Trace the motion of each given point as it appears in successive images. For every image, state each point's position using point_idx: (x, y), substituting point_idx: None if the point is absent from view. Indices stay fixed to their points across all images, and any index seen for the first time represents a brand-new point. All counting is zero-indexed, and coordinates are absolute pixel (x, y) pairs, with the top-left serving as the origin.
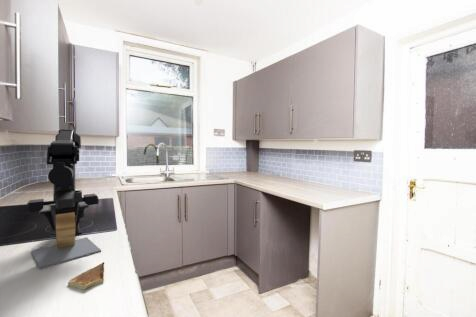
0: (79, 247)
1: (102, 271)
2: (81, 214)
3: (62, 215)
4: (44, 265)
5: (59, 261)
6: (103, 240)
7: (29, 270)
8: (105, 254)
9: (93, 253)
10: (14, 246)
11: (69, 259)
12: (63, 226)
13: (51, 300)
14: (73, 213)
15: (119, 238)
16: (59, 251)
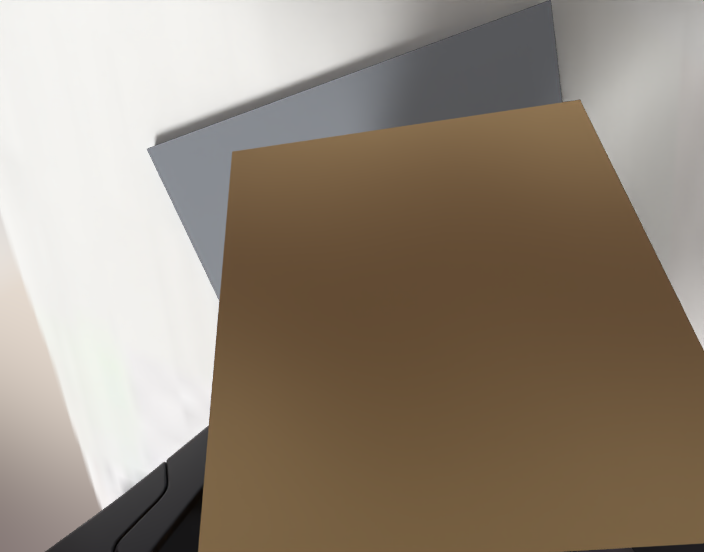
0: None
1: None
2: (114, 502)
3: (542, 462)
4: (517, 27)
5: (419, 55)
6: (177, 358)
7: (605, 22)
8: (107, 65)
9: (201, 132)
10: None
11: (354, 75)
12: (446, 136)
13: None
14: (232, 504)
15: (74, 345)
16: None
